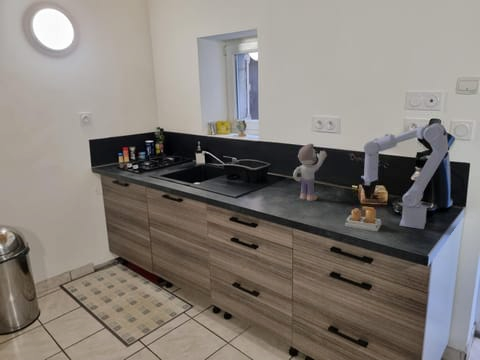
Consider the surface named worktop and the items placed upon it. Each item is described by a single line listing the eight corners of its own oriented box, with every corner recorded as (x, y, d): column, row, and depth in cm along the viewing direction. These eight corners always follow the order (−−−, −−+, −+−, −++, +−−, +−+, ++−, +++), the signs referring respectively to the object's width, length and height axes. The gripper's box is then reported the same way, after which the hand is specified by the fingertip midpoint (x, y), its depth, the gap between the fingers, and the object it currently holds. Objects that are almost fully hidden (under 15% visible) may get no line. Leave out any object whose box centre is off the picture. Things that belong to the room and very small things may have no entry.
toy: (330, 200, 194) (331, 144, 186) (321, 204, 188) (322, 147, 180) (301, 194, 206) (301, 141, 198) (292, 198, 200) (291, 144, 192)
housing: (381, 224, 160) (382, 209, 158) (377, 231, 153) (378, 215, 151) (349, 219, 166) (350, 204, 164) (344, 226, 159) (345, 210, 157)
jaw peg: (375, 222, 158) (376, 206, 156) (374, 226, 155) (374, 209, 153) (363, 221, 161) (363, 205, 159) (361, 224, 158) (361, 208, 156)
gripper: (365, 163, 171) (364, 191, 174) (358, 170, 159) (356, 200, 162) (381, 164, 167) (379, 192, 171) (375, 171, 155) (373, 202, 159)
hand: (369, 196), depth 166 cm, fingers open, 7 cm apart
